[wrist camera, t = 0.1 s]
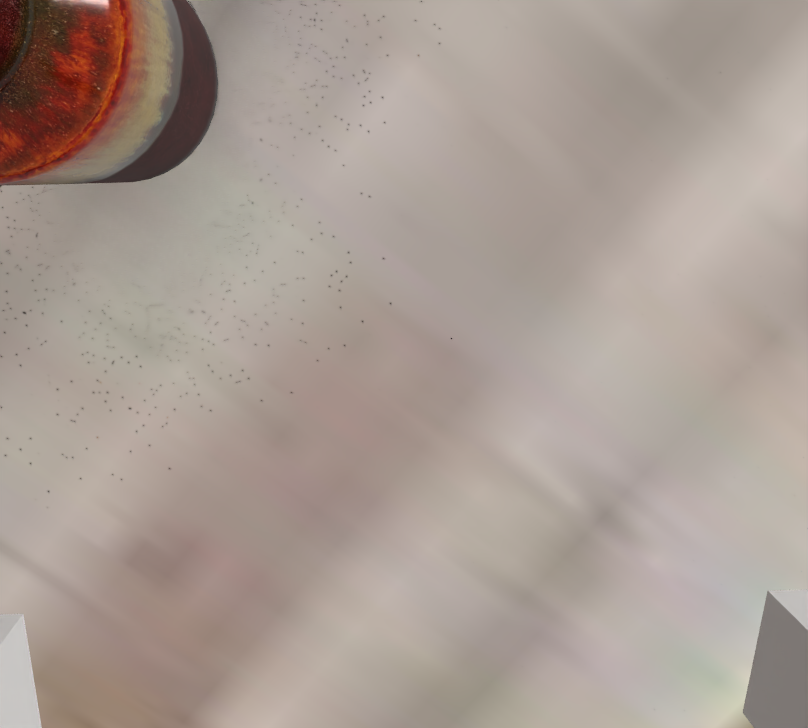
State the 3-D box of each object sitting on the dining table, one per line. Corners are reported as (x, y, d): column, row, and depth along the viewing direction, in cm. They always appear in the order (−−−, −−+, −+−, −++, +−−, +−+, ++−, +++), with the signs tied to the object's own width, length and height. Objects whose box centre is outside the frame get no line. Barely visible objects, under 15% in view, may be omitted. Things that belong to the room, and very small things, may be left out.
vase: (31, 190, 35) (-367, 207, 16) (-21, -37, 32) (-601, -369, 12) (233, 174, 36) (94, 171, 16) (201, -50, 33) (-20, -387, 13)
